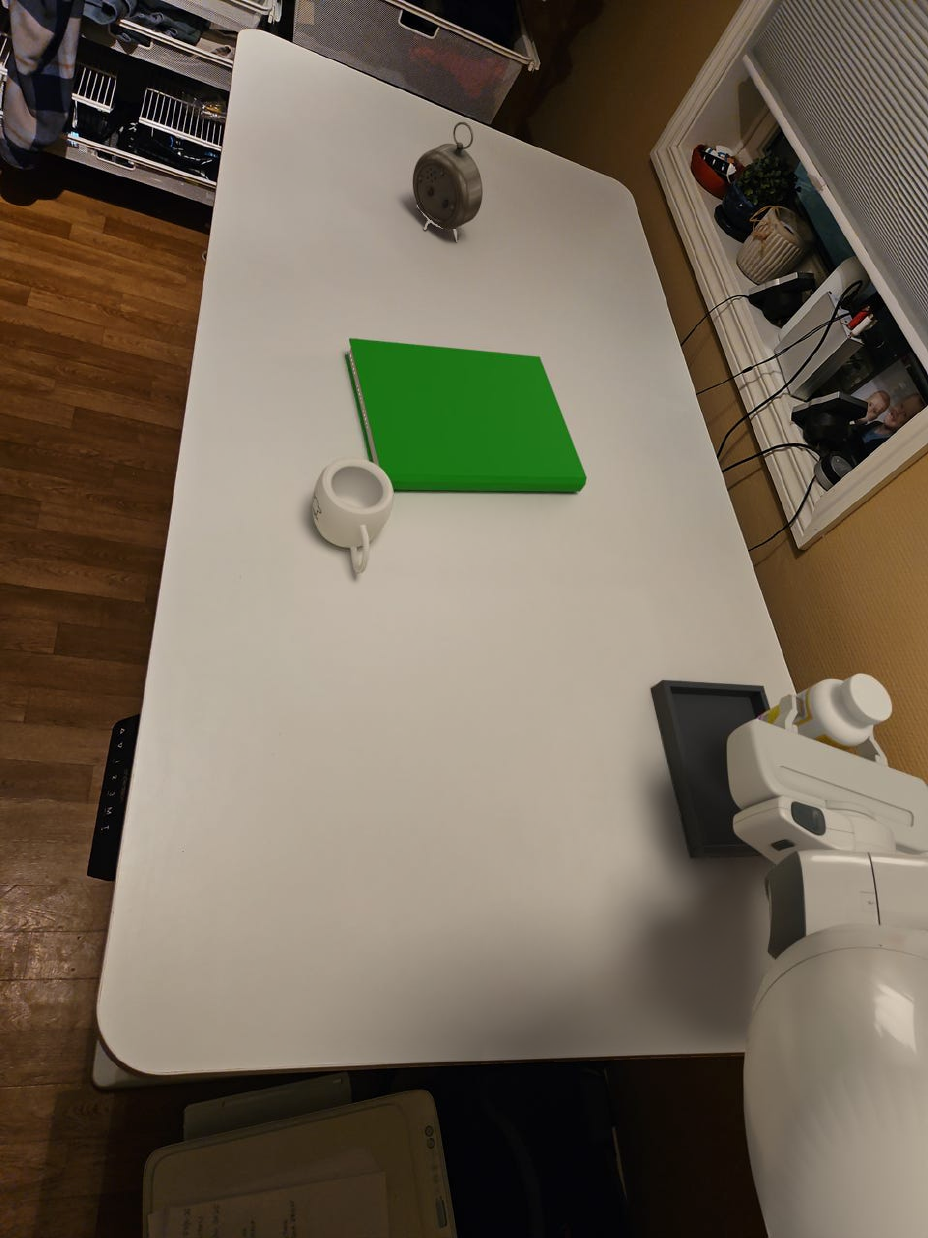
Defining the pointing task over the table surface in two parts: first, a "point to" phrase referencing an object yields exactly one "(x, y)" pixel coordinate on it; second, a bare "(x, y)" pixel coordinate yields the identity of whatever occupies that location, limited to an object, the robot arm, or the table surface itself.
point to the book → (461, 419)
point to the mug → (352, 505)
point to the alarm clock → (448, 184)
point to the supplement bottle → (840, 710)
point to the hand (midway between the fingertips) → (824, 711)
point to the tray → (705, 758)
